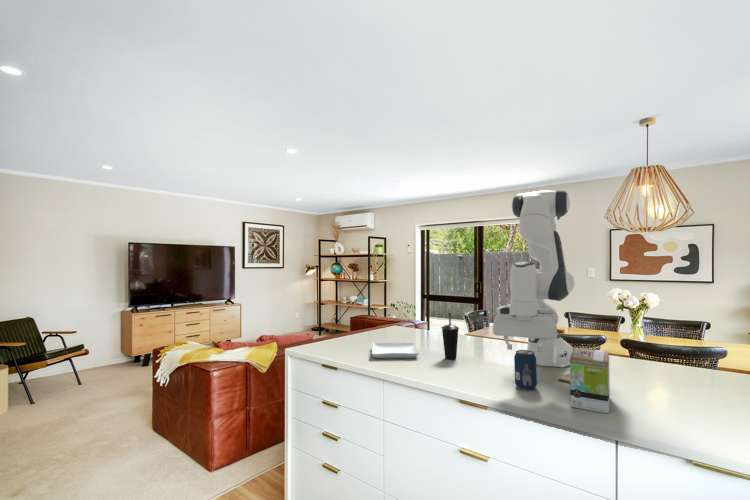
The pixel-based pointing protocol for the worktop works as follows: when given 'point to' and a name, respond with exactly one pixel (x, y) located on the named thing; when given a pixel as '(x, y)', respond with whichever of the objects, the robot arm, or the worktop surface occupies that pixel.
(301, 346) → the worktop surface
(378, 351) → the salad plate
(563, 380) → the walnut coaster
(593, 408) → the tea box
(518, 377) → the soda can
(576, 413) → the worktop surface
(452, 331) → the drinking cup
